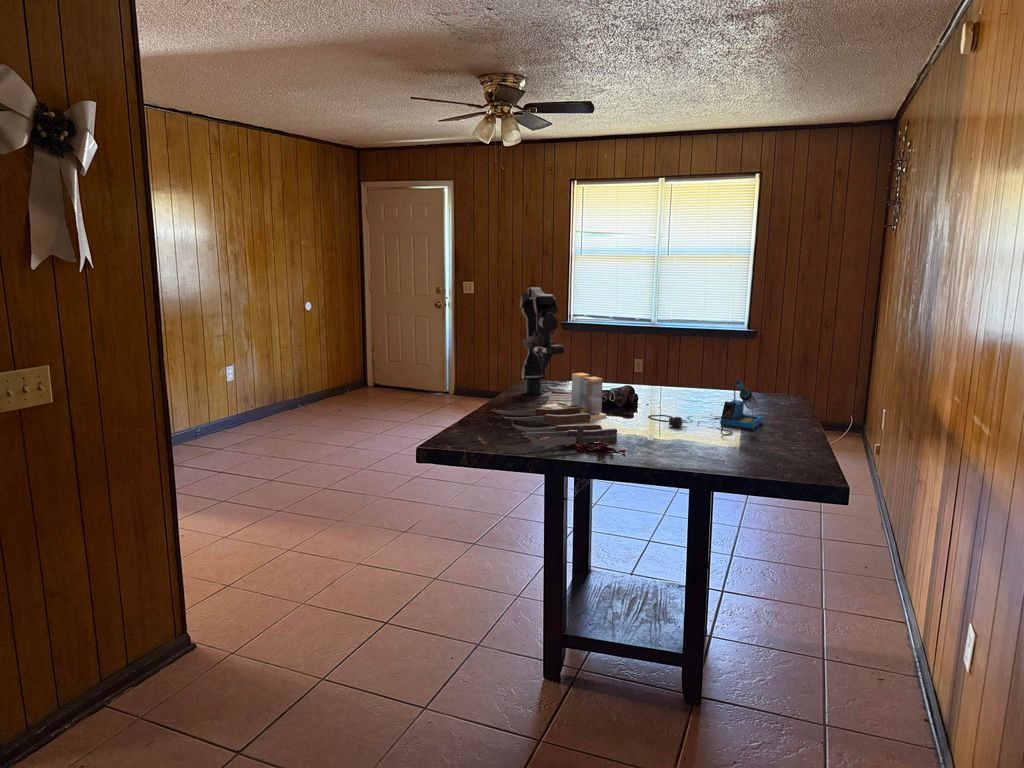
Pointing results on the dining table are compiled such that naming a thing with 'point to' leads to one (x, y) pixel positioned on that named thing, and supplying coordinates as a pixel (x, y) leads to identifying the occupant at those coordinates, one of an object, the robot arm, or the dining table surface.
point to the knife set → (563, 427)
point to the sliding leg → (577, 390)
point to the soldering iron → (728, 413)
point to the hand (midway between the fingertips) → (543, 369)
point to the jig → (588, 399)
